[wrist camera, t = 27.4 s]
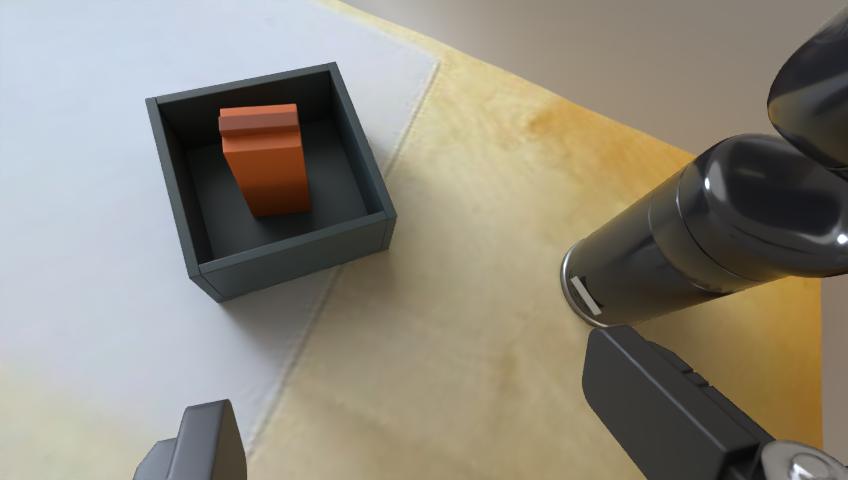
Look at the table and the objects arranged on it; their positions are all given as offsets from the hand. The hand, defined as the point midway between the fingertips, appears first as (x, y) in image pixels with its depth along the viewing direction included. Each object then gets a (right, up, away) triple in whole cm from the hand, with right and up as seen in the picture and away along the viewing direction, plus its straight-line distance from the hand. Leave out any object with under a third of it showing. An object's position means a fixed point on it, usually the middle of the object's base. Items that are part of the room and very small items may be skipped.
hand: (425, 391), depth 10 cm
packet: (-13, +7, +33) cm, 36 cm away
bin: (-13, +7, +33) cm, 37 cm away
